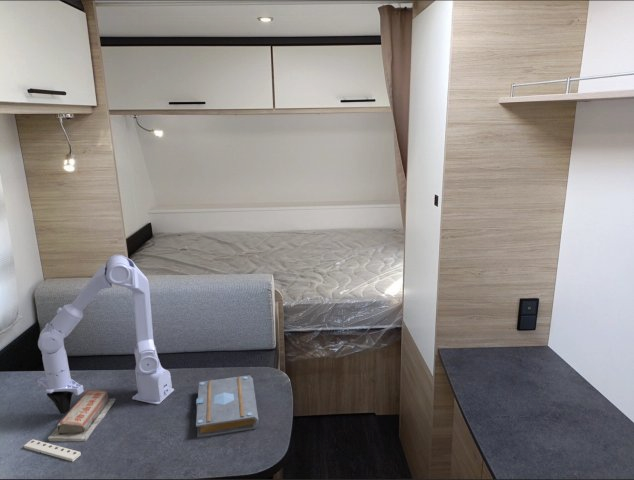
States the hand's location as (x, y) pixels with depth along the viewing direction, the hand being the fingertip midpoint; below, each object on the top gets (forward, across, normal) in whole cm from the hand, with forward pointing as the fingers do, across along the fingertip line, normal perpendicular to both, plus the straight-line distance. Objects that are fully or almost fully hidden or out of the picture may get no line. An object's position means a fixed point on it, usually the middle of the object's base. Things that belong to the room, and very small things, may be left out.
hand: (65, 411), depth 130 cm
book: (+2, +42, +16) cm, 45 cm away
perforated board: (+1, +9, -12) cm, 15 cm away
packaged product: (+2, +6, 0) cm, 7 cm away
